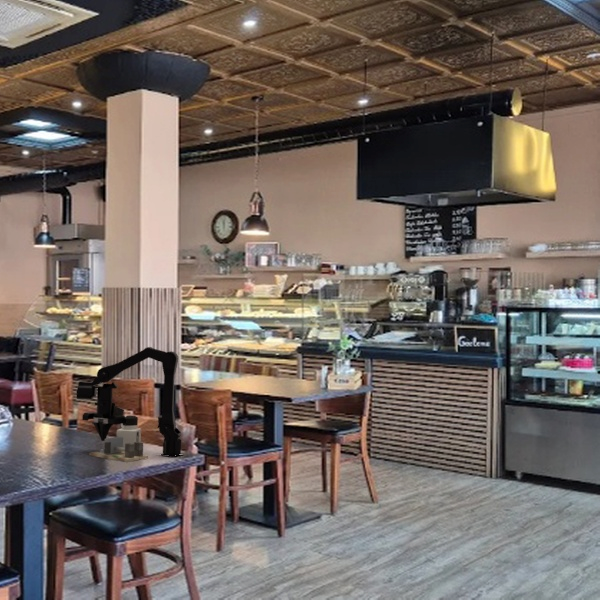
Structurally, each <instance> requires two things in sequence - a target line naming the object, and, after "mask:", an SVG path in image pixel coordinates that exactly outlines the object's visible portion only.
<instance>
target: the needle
mask: <svg viewBox="0 0 600 600" xmlns="http://www.w3.org/2000/svg"><path fill="white" fill-rule="evenodd" d="M104 443H105V446H103V447H104V448H103V449H104V453H106V454H108V453H111V442H105V441H104Z"/></svg>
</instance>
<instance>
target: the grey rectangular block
mask: <svg viewBox="0 0 600 600" xmlns="http://www.w3.org/2000/svg"><path fill="white" fill-rule="evenodd" d="M105 442H111V453H108V454H112V453H118V452H123V451H124V452H125V448H123V437H117V436H115V437H106V439H105V441H104V446H105ZM104 446H103V447H104ZM99 451H100V453H104V448H101V449H100V450H99ZM104 454H106V453H104Z"/></svg>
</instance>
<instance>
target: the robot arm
mask: <svg viewBox="0 0 600 600" xmlns="http://www.w3.org/2000/svg"><path fill="white" fill-rule="evenodd" d="M146 359H151V360H152V359H153V360H154V361H157V362H160V363H161V367H162V371H163V372H162V373H163V375H164V379H163V400H162V401H163V406H162V415H161V414H159V416H158V417H157V421H158V425H157V429H158V430H159V433H160V434H161V436H163V442H162V453H160V454H161V455H160V456H163V455H169V456H175V455H179V454H182V439H181V435H182V431H180V430H179V428H177V423H176V417H175V411H174V405H175V404H174V403H175V401H174V399H175V376H176V371H177V368H178V364H179V355H178V353H176V352H175V351H172V350H170V351H164V350H160V349H158V348H157V349H156V348H155V347H154V348H153V347H152V346H147V347H145V348H144V349H142V350H141V351H138V352H137V353H135V354H133V355H131V356H129V357H127V358H125V359H123V360H121V361H119V362H117V363H113V364H110V365H107V366H104V367H100V368H99V369H98V370H97V372H96V377H95V378H94V379H93V380H92V381H83V380H82V381H78V385H77V389H76V399H77V400H93V399H94V398H96V402H94V406H96V411H90V412H89V411H87V412H83V414H82V419H81V420H82V421H86V422H87V421H89V420H93V421H92V424H93V426H94V428H95V430H96V432H97V433H98V436H99V438H100V440H101V441H102V442H105V439H107V438H108V435H109V431H110V429H111V427H112V426H114V425H121V424H124V423H126V417H125V416H126V415H124V413H125V409H123V408H120V407H117V406H116V403H115V402H114V401H113V398H114V397H113V395H114V393H113V391H114V389H118V388H119V385H117V384H116V382H115V381H112V380H114V379H115V378H116V377H118V376H119V375H120V374H121V373H123V372H124V371H126V370H128V369H130V368H132V367H133V366H135V365H137V364H139V363H142V362H143V361H145V360H146ZM111 381H112V382H111ZM108 382H111V383H108ZM102 383H103V384H102ZM101 384H102V385H101ZM169 456H168V457H169ZM175 457H176V456H175Z"/></svg>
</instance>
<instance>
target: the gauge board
mask: <svg viewBox="0 0 600 600" xmlns="http://www.w3.org/2000/svg"><path fill="white" fill-rule="evenodd" d="M89 456H91V457H97V458H102V459H107V460H112V461H113V460H114V461H119V462H125V463H129V462H134V461H139V459H141V460H146V459H145V458H147V459H149V455H147V454H144V442H134V444H132V443H126V444H125V452H124V451H123V452H118V453H112V454H104V453H100V450H99V451H92V452H89Z"/></svg>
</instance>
